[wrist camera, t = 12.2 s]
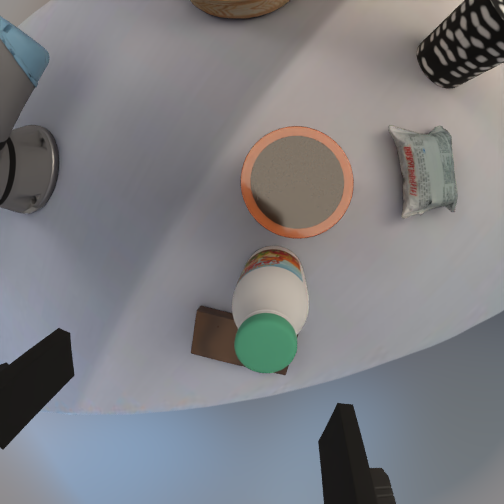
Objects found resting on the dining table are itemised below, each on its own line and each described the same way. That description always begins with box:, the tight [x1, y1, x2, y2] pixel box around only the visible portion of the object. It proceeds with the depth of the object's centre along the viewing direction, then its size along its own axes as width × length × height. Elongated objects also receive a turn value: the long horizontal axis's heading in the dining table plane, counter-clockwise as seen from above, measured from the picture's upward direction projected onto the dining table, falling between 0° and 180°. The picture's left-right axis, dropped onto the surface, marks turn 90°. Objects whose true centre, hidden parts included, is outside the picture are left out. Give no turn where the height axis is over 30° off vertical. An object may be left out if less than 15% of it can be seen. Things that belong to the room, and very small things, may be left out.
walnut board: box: [191, 306, 298, 375], centre depth 42 cm, size 14×7×2 cm, turn 79°
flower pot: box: [241, 126, 353, 238], centre depth 34 cm, size 11×11×9 cm
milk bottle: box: [232, 246, 309, 373], centre depth 31 cm, size 8×8×20 cm
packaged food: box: [389, 125, 458, 219], centre depth 33 cm, size 9×12×5 cm
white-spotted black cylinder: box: [417, 0, 504, 88], centre depth 22 cm, size 8×8×20 cm
